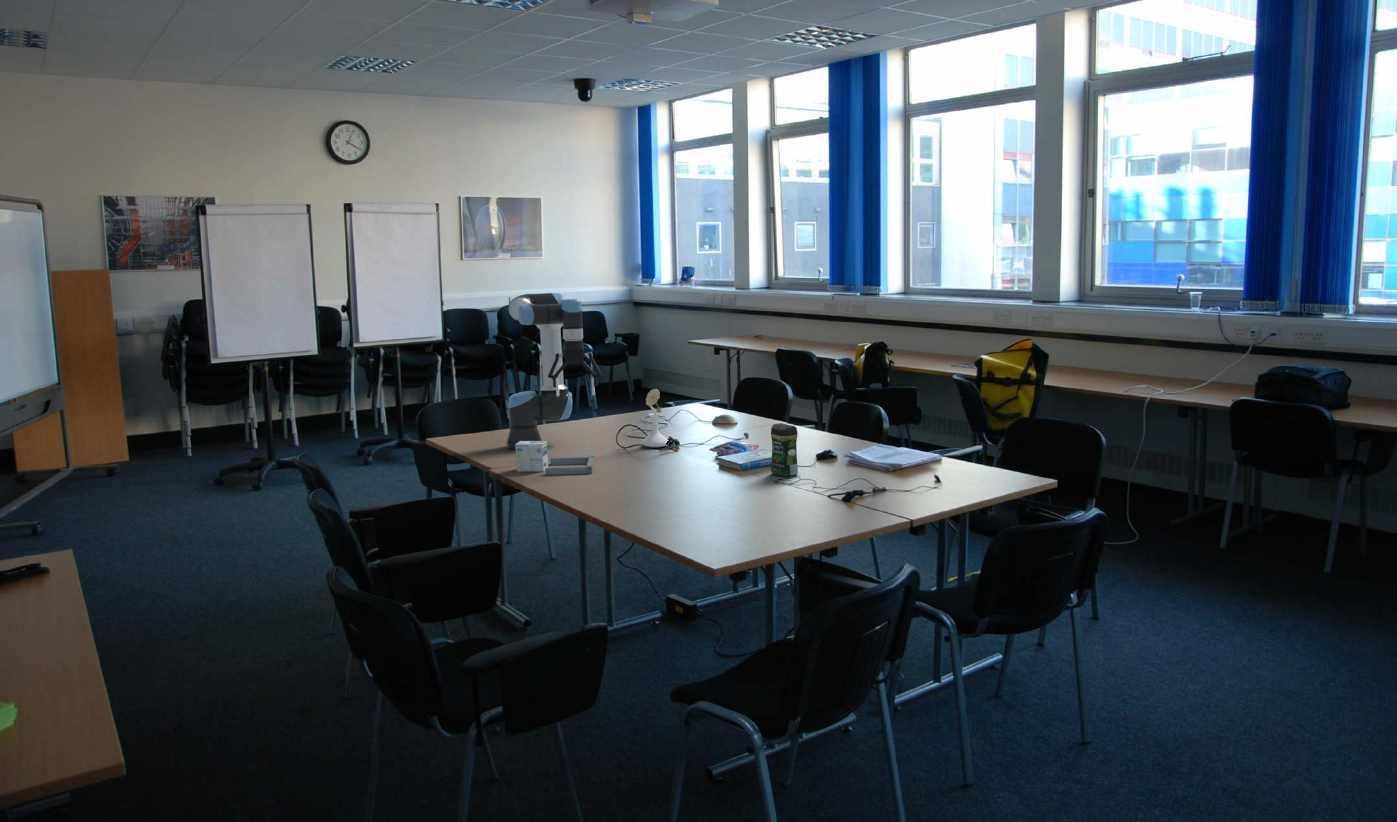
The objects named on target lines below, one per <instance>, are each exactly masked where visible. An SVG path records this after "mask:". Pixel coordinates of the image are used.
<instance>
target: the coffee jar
mask: <svg viewBox="0 0 1397 822" xmlns="http://www.w3.org/2000/svg"><path fill="white" fill-rule="evenodd" d="M798 434H799V433H798V428H797V427H796V426H795V425H790V424H786V423H782V422H781V423H780V422H779V423H774V424H772V425H771V428H770V438H771V445H772V446H771V461H770V462H771V465H770V467H771V468H770V472H771V474H772V475H775V476H779V477H784V478H785V477H788V478H790V477H789V476H792V477H794V476H797V475H798V474H799V471H798V469H799V468H798V454H797V453H798V449H797V441H798Z"/></svg>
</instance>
